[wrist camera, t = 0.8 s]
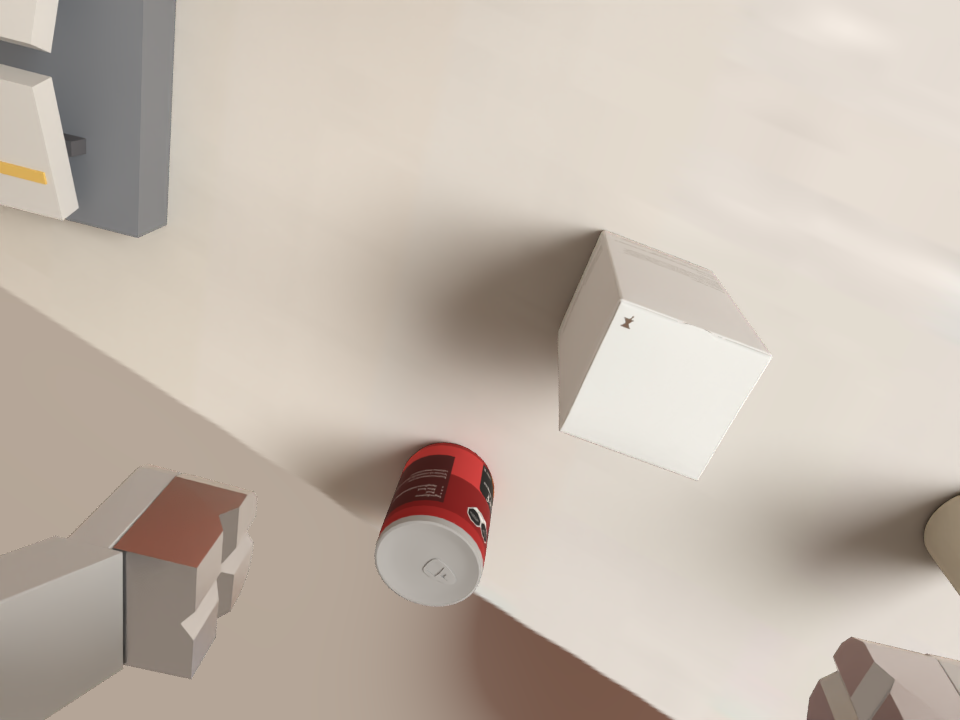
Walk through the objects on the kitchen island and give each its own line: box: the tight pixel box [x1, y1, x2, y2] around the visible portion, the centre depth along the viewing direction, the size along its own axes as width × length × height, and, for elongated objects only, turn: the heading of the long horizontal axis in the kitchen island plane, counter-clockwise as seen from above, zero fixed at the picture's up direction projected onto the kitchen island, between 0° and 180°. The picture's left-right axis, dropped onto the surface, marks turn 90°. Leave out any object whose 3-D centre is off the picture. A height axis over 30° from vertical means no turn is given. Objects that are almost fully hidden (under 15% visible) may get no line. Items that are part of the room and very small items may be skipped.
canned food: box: [374, 443, 494, 607], centre depth 55 cm, size 8×8×11 cm
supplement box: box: [558, 230, 773, 481], centre depth 45 cm, size 9×9×15 cm
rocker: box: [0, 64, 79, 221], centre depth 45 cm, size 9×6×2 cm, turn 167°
